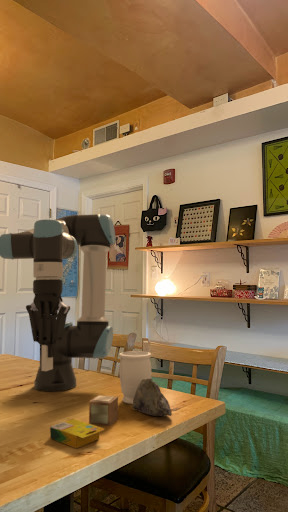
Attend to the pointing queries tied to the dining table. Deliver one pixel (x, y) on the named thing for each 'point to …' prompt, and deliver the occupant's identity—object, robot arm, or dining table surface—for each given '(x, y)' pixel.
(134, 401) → the mineral rock
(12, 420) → the dining table surface
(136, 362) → the jar
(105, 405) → the brown cube
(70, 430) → the crayon box
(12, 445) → the dining table surface
